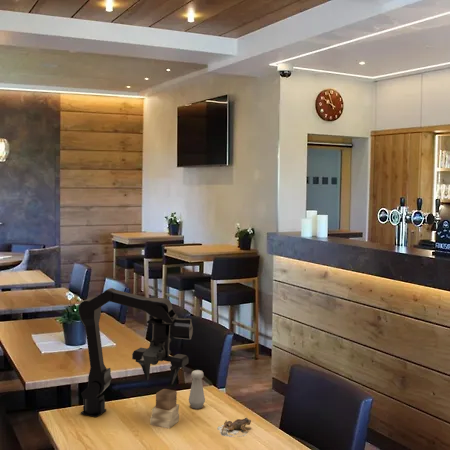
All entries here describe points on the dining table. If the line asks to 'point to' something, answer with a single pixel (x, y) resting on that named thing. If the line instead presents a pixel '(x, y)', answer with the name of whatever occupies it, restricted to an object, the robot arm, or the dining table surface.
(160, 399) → the walnut cube
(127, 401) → the dining table surface
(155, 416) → the beech slab upper
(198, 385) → the salt shaker
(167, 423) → the beech slab lower
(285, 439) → the dining table surface
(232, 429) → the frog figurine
